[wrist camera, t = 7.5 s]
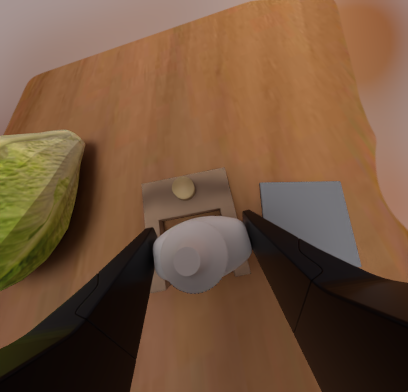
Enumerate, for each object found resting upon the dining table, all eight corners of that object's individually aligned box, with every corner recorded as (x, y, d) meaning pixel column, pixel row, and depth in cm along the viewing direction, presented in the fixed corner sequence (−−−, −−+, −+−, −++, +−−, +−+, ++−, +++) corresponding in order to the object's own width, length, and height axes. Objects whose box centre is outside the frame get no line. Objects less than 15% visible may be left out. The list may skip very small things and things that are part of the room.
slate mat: (358, 266, 20) (361, 266, 19) (267, 264, 20) (268, 265, 20) (338, 182, 23) (340, 181, 22) (259, 183, 24) (260, 182, 23)
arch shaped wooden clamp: (247, 270, 20) (255, 278, 17) (156, 287, 21) (143, 299, 17) (223, 172, 24) (225, 161, 21) (147, 188, 25) (134, 179, 21)
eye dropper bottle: (187, 215, 16) (123, 161, 5) (238, 229, 15) (312, 208, 4) (174, 256, 15) (49, 319, 4) (228, 273, 14) (290, 424, 3)
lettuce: (68, 155, 32) (135, 180, 31) (-83, 282, 19) (23, 330, 18) (-10, 71, 19) (101, 108, 18) (-624, 287, 6) (-357, 449, 5)
